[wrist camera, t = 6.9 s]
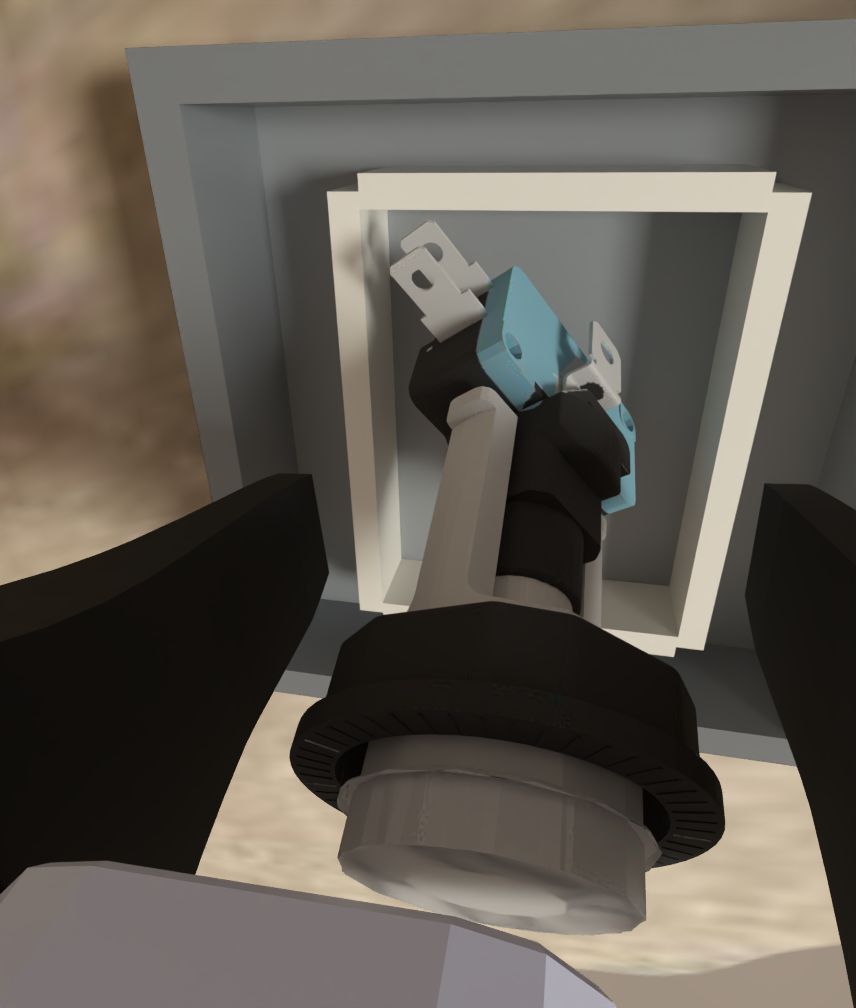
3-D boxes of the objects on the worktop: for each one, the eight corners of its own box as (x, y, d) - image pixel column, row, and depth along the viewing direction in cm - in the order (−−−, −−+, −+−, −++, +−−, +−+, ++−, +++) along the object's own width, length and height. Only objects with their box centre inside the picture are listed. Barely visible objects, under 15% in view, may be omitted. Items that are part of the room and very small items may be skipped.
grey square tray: (990, 36, 12) (1130, 7, 9) (788, 664, 18) (827, 770, 15) (223, 63, 14) (124, 48, 11) (296, 606, 21) (248, 687, 18)
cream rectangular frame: (785, 164, 13) (817, 171, 11) (690, 607, 18) (701, 660, 16) (357, 166, 14) (325, 173, 12) (381, 574, 19) (361, 619, 17)
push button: (325, 285, 14) (73, 782, 7) (550, 118, 11) (454, 719, 4) (511, 483, 17) (448, 940, 11) (723, 398, 14) (810, 966, 8)
